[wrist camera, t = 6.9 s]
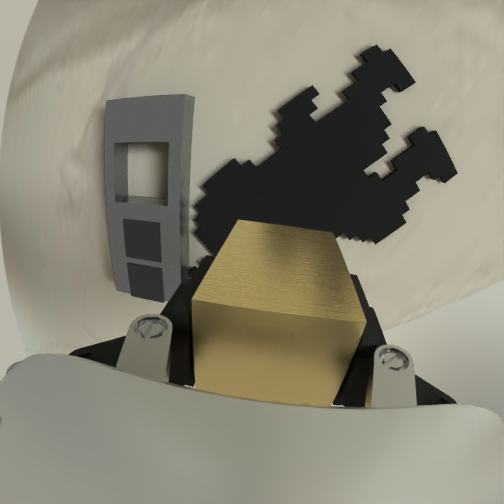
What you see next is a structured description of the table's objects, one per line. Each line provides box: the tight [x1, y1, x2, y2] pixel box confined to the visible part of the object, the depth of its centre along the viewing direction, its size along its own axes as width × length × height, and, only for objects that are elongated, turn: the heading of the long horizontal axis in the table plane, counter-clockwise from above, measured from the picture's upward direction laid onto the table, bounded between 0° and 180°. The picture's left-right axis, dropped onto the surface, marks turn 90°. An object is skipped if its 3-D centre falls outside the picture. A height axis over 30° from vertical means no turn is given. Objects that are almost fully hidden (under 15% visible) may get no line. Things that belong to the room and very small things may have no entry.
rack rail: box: [104, 94, 195, 303], centre depth 26 cm, size 20×8×3 cm, turn 175°
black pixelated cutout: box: [188, 45, 457, 278], centre depth 25 cm, size 16×1×30 cm
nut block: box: [192, 220, 367, 406], centre depth 11 cm, size 4×4×7 cm
